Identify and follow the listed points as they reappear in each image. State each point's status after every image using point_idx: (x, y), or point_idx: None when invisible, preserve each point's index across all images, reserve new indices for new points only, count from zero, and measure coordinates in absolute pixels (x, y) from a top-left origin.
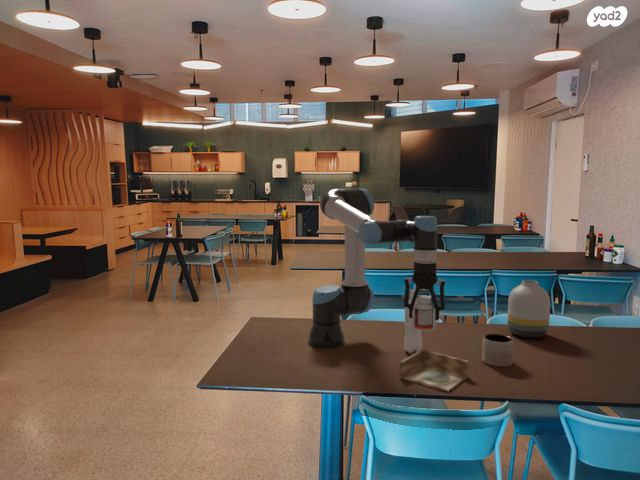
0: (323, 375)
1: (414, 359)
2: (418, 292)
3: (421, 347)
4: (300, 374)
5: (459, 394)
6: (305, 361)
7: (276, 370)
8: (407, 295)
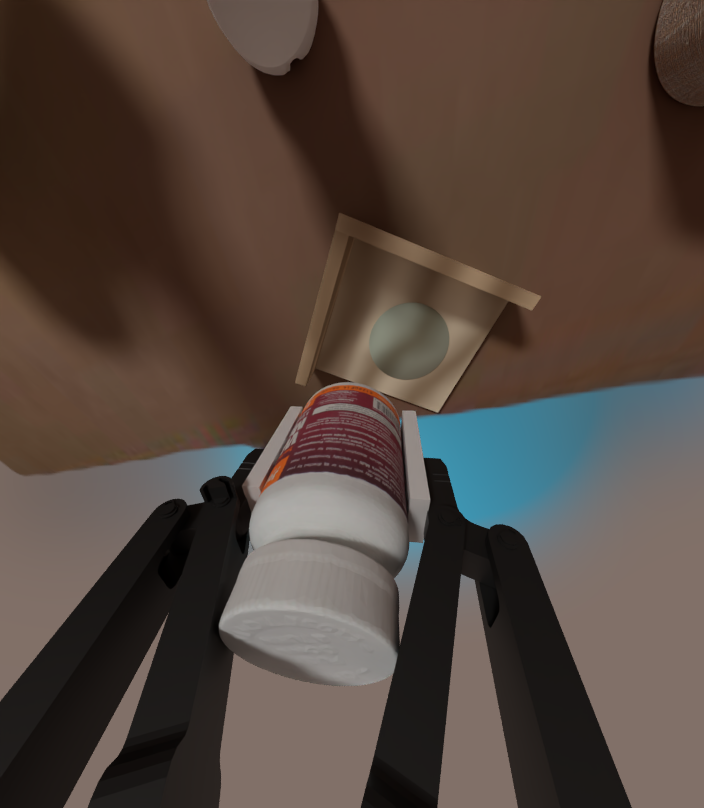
0: (145, 400)
1: (329, 309)
2: (211, 723)
3: (317, 8)
4: (104, 408)
5: (463, 411)
6: (42, 332)
7: (48, 404)
8: (133, 661)
